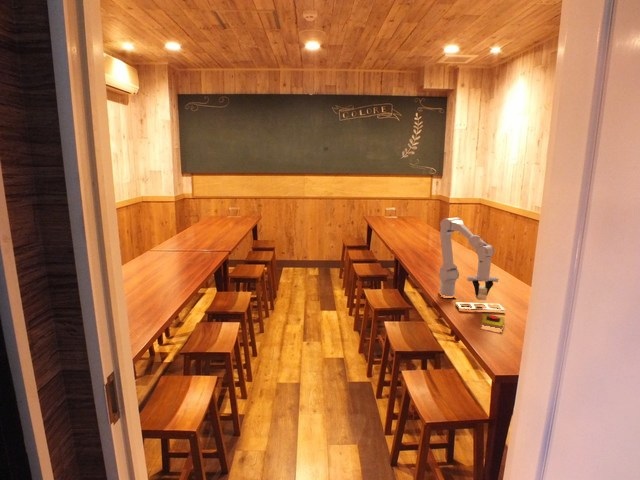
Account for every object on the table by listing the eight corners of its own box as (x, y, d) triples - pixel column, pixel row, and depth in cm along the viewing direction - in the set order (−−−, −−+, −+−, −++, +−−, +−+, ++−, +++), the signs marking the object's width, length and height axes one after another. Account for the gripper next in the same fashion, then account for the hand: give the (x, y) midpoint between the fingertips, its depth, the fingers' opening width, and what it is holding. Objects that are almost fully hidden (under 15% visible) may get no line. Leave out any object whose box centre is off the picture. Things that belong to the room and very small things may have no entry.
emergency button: (505, 314, 186) (503, 325, 173) (504, 322, 187) (502, 334, 174) (484, 310, 191) (480, 321, 178) (483, 318, 192) (479, 330, 179)
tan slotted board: (455, 305, 206) (455, 302, 206) (498, 307, 204) (499, 303, 204) (459, 311, 198) (460, 308, 198) (504, 313, 197) (505, 309, 196)
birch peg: (475, 297, 202) (476, 285, 201) (483, 297, 202) (484, 286, 201) (478, 299, 198) (479, 288, 197) (486, 300, 198) (487, 288, 197)
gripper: (471, 271, 193) (468, 297, 196) (501, 271, 192) (498, 298, 195) (467, 267, 200) (464, 292, 203) (496, 267, 199) (493, 293, 202)
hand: (481, 294), depth 200 cm, fingers closed on birch peg, 4 cm apart
